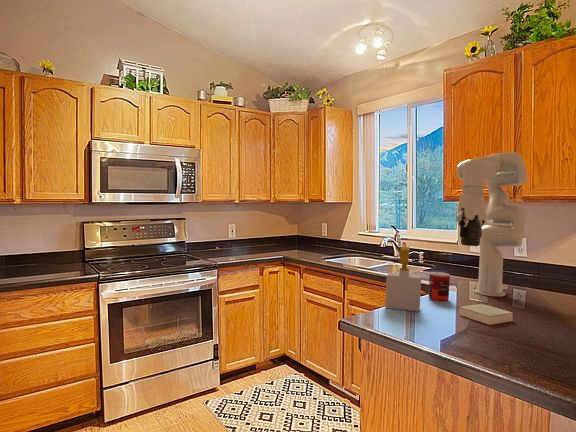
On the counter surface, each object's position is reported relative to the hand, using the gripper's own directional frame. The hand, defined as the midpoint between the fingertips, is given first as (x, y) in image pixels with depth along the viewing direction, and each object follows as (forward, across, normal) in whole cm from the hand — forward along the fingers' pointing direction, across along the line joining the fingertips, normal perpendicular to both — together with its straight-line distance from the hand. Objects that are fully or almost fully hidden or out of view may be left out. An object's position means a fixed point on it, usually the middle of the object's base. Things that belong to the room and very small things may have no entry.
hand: (470, 236), depth 150 cm
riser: (+28, +6, +13) cm, 31 cm away
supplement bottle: (+4, 0, 0) cm, 4 cm away
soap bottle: (+28, +26, -7) cm, 39 cm away
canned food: (+28, +1, -13) cm, 31 cm away
